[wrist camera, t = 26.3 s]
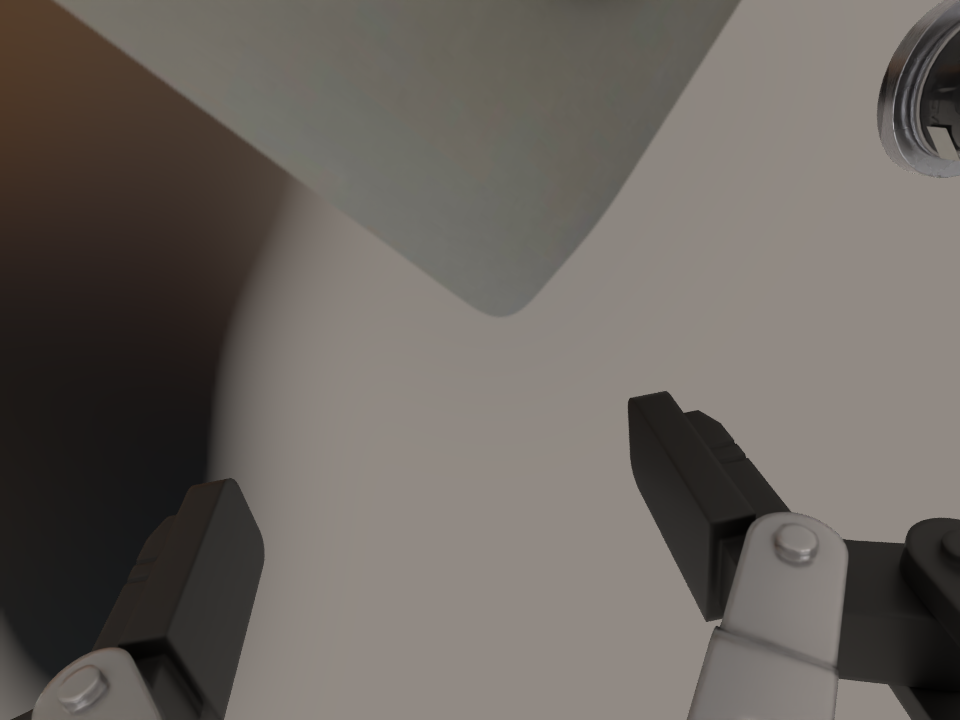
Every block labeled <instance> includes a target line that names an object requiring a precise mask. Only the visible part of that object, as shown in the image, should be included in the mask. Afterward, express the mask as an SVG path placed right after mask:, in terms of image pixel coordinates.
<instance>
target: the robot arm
mask: <svg viewBox="0 0 960 720" xmlns="http://www.w3.org/2000/svg"><path fill="white" fill-rule="evenodd" d="M910 116H911V125H912V129H913V133H914V135H915V138H916V140H917V141H918V143H919V144H920V146H921V147H922V148H923V149H924V150H925V151H926V152H927V153H929V154H930V155H932V156H934V157H937V158H941V159H946V160H954V161H960V22H959V23H958V24H956V25H955V26H954V27H953V28H951V29H950V30H949V31H948V32H947V33H946V34H945V35H944V36H943V37H942V38H941V39H940V41H939V42H938V43H937V44H936V45H935V47H934V48H933V49H932V51H931V52H930V54H929V55H928V57H927V59H926V60H925V62H924V64H923V66H922V68H921V70H920V72H919V75H918V77H917V80H916V83H915V86H914V90H913V94H912V99H911V108H910ZM628 420H629V442H630V460H631V466H632V470H633V475H634V478H635V481H636V484H637V486H638V489H639V491H640V492H641V495H642V497H643V499H644V500H645V503H646V504H647V506H648V508H649V510H650V512H651V514H652V516H653V518H654V520H655V522H656V524H657V526H658V528H659V530H660V532H661V534H662V536H663V538H664V540H665V542H666V544H667V546H668V548H669V550H670V551H671V554H672V556H673V558H674V560H675V562H676V564H677V566H678V567H679V569H680V571H681V573H682V575H683V577H684V579H685V581H686V583H687V585H688V587H689V589H690V591H691V593H692V595H693V597H694V599H695V601H696V603H697V605H698V607H699V609H700V611H701V613H702V615H703V617H704V619H705V620H706V622H708V621H713V620H717V619H722V622H721V625H720V627H718V626H716V627H715V629H714V631H713V633H712V636H711V639H710V642H709V645H708V649H707V652H706V655H705V659H704V662H703V666H702V669H701V673H700V677H699V680H698V683H697V686H696V690H695V694H694V697H693V700H692V704H691V707H690V710H689V714H688V717H687V720H834V718H835V708H836V699H837V689H838V679H847V680H855V681H864V682H873V683H882V684H888V685H889V686H890V688H891V689H892V691H893V692H894V694H895V695H896V697H897V699H898V700H899V702H900V703H901V705H902V706H903V708H904V709H905V710H906V712H907V714H908V715H909V717H910V718H911V720H960V520H958V519H951V518H932V519H927V520H923V521H920V522H918V523H916V524H915V525H913V526H912V527H911V528H910V530H909V531H908V533H907V536H906V540H905V543H904V544H903V543H886V542H885V543H884V542H869V541H854V540H845V539H842V538H841V537H840V536H839V534H838V533H836V531H834V530H833V529H832V528H831V527H829V526H828V525H827V524H825V523H823V522H821V521H819V520H817V519H815V518H813V517H810V516H807V515H803V514H798V513H793V512H791V511H790V510H789V509H788V507H787V506H786V505H785V504H784V502H783V501H782V500H781V499H780V497H779V496H778V495H777V494H776V492H775V491H774V490H773V489H772V487H771V486H770V485H769V484H768V482H767V481H766V480H765V478H764V477H763V476H762V475H761V474H760V472H759V471H758V470H757V468H756V467H755V466H754V465H753V464H752V462H751V461H750V460H749V459H748V458H746V456H745V453H744V452H743V451H742V450H741V448H740V447H739V446H738V445H737V444H735V443H734V440H733V438H732V437H731V436H730V435H729V433H728V432H727V431H726V430H725V428H724V427H723V426H722V425H721V423H719V422H718V421H716V420H714V419H712V418H711V417H709V416H707V415H706V414H704V413H702V412H701V411H699V410H697V411H691V412H687V413H683V412H682V410H681V409H680V407H679V406H678V405H677V403H676V402H675V401H674V399H673V398H672V396H671V395H670V394H669V393H668V392H667V391H663V392H658V393H654V394H648V395H643V396H638V397H633V398H630V399H629V401H628ZM136 562H137V565H135V566H134V567H133V569H132V571H131V573H130V575H129V577H128V579H127V582H128V583H127V584H126V585H124V587H123V589H122V591H121V593H120V595H119V597H118V599H117V601H116V603H115V605H114V607H113V609H112V611H111V613H110V615H109V617H108V619H107V621H106V623H105V625H104V627H103V629H102V631H101V633H100V635H99V638H98V639H97V641H96V644H95V646H94V648H93V650H92V652H91V653H88V654H86V655H84V656H82V657H80V658H79V659H77V660H75V661H74V662H72V663H71V664H70V665H68V666H67V667H65V668H64V669H63V670H62V671H61V672H60V673H58V674H57V675H56V676H55V677H54V678H53V679H52V680H51V682H50V683H49V684H48V685H47V686H46V688H45V689H44V690H43V692H42V694H41V695H40V696H39V698H38V700H37V702H36V704H35V706H34V709H32V710H30V711H28V712H26V713H24V714H22V715H20V716H18V717H16V718H14V719H12V720H224V717H225V713H226V709H227V705H228V701H229V697H230V694H231V690H232V686H233V682H234V678H235V674H236V670H237V666H238V662H239V658H240V655H241V651H242V647H243V643H244V639H245V635H246V631H247V627H248V623H249V619H250V616H251V612H252V608H253V604H254V600H255V596H256V592H257V588H258V584H259V580H260V577H261V572H262V569H263V564H264V544H263V539H262V535H261V533H260V530H259V528H258V526H257V524H256V522H255V520H254V517H253V515H252V513H251V511H250V509H249V507H248V504H247V502H246V500H245V498H244V496H243V494H242V492H241V489H240V487H239V485H238V484H237V482H236V481H235V480H234V479H231V478H229V479H224V480H219V481H214V482H209V483H204V484H199V485H194V486H192V487H190V489H189V490H188V492H187V494H186V496H185V498H184V501H183V503H182V505H181V507H180V509H179V511H178V514H177V515H174V516H169V517H167V518H166V519H165V520H164V521H163V522H162V523H161V524H160V526H159V527H158V528H157V529H156V530H155V531H154V532H153V533H152V534H151V535H150V536H149V537H148V538H147V540H146V542H145V544H144V546H143V548H142V551H141V553H140V555H139V557H138V559H137V561H136Z"/></svg>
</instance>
